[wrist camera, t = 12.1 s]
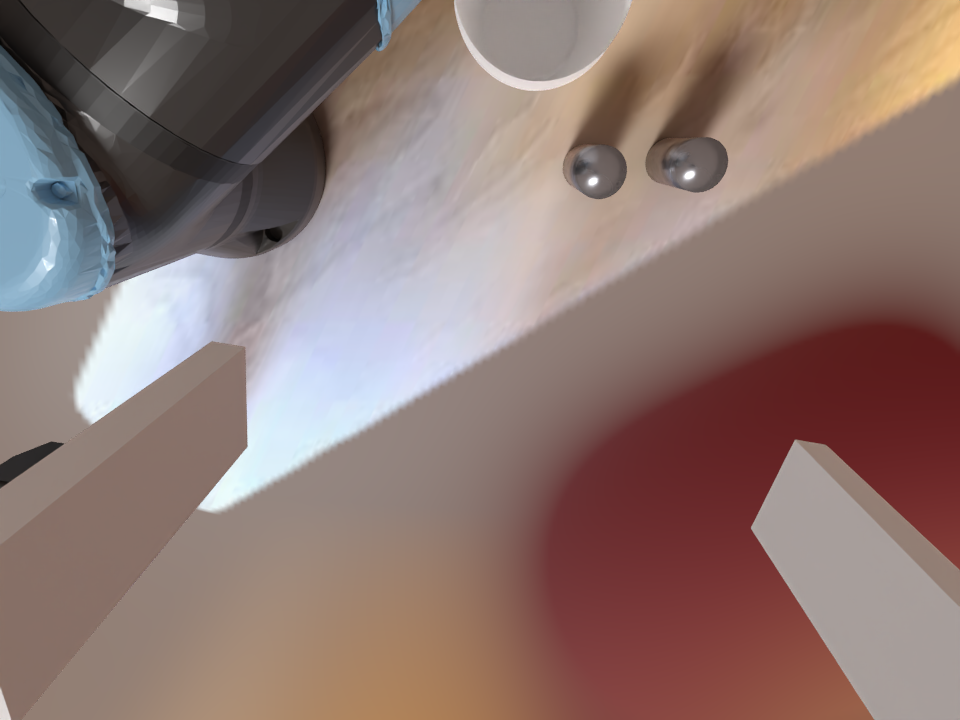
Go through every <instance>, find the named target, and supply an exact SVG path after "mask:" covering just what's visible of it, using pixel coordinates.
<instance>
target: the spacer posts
mask: <svg viewBox="0 0 960 720" xmlns="http://www.w3.org/2000/svg"><path fill="white" fill-rule="evenodd" d="M727 165H728V155H727V152H726V149H725V148H724V146H723V145H722V144H721V143H720V142H719V141H717V140H715V139H713V138H707V137H706V138H665V139H662V140H660V141H658V142H657V143H656V144H654V145H653V146H652V148H651V149H650V151H649V152H648V154H647V157H646V170H647V173H648V175H649V176H650V178H651V179H652V180H654V181H655V182H658V183H661V184H665V185H668V186H672V187H676V188H679V189H683V190H687V191H690V192H704V191H707V190H709V189H711V188H713V187H714V186H715V185H717V184H718V183H719V182H720V180H721V179H722V178H723V176H724V174H725V172H726V169H727ZM626 173H627V166H626V161H625V159H624V157H623V155H622V154H621V152H620V151H619V150H617V149H616V148H614V147H612V146H609V145H597V144H581V145H578V146H576V147H574V148H573V149H572V150H570V152H569V153H568V154H567V156H566V157H565V160H564V163H563V174H564V177H565V179H566V181H567V182H568V183H569V184H570V185H571V186H573V187H574V188H576V189H577V190H579V191H580V192H582V193H583V194H585V195H587V196H588V197H591V198H594V199H603V198H607V197H609V196H611V195H613V194H614V193H616V192H617V191H618V190H619V189H620V188H621V186H622V185H623V183H624V181H625V178H626Z"/></svg>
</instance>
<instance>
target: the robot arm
mask: <svg viewBox="0 0 960 720" xmlns="http://www.w3.org/2000/svg"><path fill="white" fill-rule="evenodd" d="M420 1H421V0H0V311H11V312H12V311H29V310H35V309H40V308H45V307H48V306H52V305H56V304H59V303H64V302H69V301H79V300H85V299H89V298H90V297H92V296H93V295H94V294H98V293H99V292H101V291H103V290H104V289H105V288H107V287H110V286H112V285H115V284H118V283H120V282H123V281H125V280H128V279H131V278H133V277H136V276H138V275H141V274H144V273H146V272H149V271H152V270H154V269H157V268H159V267H162V266H165V265H167V264H170V263H172V262H175V261H178V260H180V259H183V258H185V257H188V256H191V255H193V254H196V253H197V254H203V255H208V256H214V257H220V258H246V257H253V256H257V255H261V254H264V253H266V252H269V251H271V250H273V249H275V248H277V247H280V246H282V245H283V244H285V243H287V242H289V241H290V240H292V239H293V238H294V237H296V236H297V235H298V234H299V233H300V232H301V231H302V230H303V229H304V228H305V227H306V225H307V224H308V223H309V221H310V220H311V218H312V217H313V215H314V213H315V211H316V209H317V207H318V205H319V202H320V199H321V196H322V192H323V188H324V181H325V155H324V148H323V143H322V139H321V135H320V132H319V129H318V126H317V123H316V121H315V118H314V116H313V114H312V112H313V111H314V110H315V109H316V108H317V107H318V106H319V105H320V104H321V103H322V102H323V101H324V100H325V99H326V98H327V97H328V96H329V95H330V94H331V93H332V92H333V91H334V90H335V89H336V88H337V87H338V86H339V85H340V84H341V83H342V82H343V81H344V80H345V79H346V78H347V77H348V76H349V75H350V74H351V73H352V72H353V71H354V70H355V69H356V68H357V67H358V66H359V65H360V64H361V63H362V62H363V61H364V60H365V59H366V58H367V57H368V56H369V55H370V54H371V53H372V52H373V51H374V50H375V49H376V50H377V51H381V50H383V49H384V48H385V47H386V46H387V45H388V43H389V41H390V38H391V34H392V32H393V31H394V30H395V29H396V28H397V26H398V25H399V24H400V23H401V22H402V21H403V20H404V19H405V18H406V17H407V15H408V14H409V13H410V12H411V11H412V10H413V9H414V8H415V7H416V6H417V5H418V3H419V2H420ZM246 448H247V404H246V359H245V347H242V346H236V345H230V344H225V343H219V342H213V341H212V342H210V343H209V344H207V345H206V346H205V347H203V348H202V349H200V350H199V351H197V352H196V353H194V354H193V355H192V356H190V357H189V358H187V359H186V360H184V361H183V362H182V363H180V364H179V365H177V366H176V367H174V368H173V369H171V370H170V371H169V372H167V373H166V374H164V375H163V376H161V377H160V378H159V379H157V380H156V381H154V382H153V383H151V384H150V385H148V386H147V387H146V388H144V389H143V390H141V391H140V392H138V393H137V394H136V395H134V396H133V397H131V398H130V399H128V400H127V401H125V402H124V403H123V404H121V405H120V406H118V407H117V408H115V409H114V410H113V411H111V412H110V413H108V414H107V415H105V416H104V417H102V418H101V419H100V420H98V421H97V422H95V423H94V424H92V425H91V426H90V427H88V428H87V429H85V430H84V431H82V432H81V433H79V434H78V435H77V436H75V437H74V438H72V439H71V440H69V441H68V442H67V443H65V444H63V443H57V442H49V443H47V444H44V445H41V446H39V447H37V448H34V449H31V450H29V451H26V452H24V453H21V454H19V455H16V456H14V457H12V458H10V459H9V460H7V461H6V462H4V463H3V464H1V465H0V720H22V718H23V717H24V716H25V715H26V713H27V712H28V711H29V710H30V709H31V708H32V706H33V705H34V704H35V703H36V702H37V700H38V699H39V698H40V697H41V695H42V694H43V693H44V692H45V691H46V689H47V688H48V687H49V686H50V685H51V683H52V682H53V681H54V680H55V679H56V677H57V676H58V675H59V674H60V673H61V671H62V670H63V669H64V668H65V666H66V665H67V664H68V663H69V662H70V660H71V659H72V658H73V657H74V656H75V654H76V653H77V652H78V651H79V650H80V648H81V647H82V646H83V645H84V643H85V642H86V641H87V640H88V639H89V637H90V636H91V635H92V634H93V633H94V631H95V630H96V629H97V627H99V625H100V624H101V623H102V622H103V621H104V619H105V618H106V617H107V616H108V615H109V613H110V612H111V611H112V610H113V608H114V607H115V606H116V605H117V604H118V602H119V601H120V600H121V599H122V597H123V596H124V595H125V594H126V593H127V592H128V590H129V589H130V588H131V587H132V585H133V584H134V583H135V582H136V581H137V579H138V578H139V577H140V576H141V575H142V573H143V572H144V571H145V570H146V569H147V567H148V566H149V565H150V564H151V562H152V561H153V560H154V559H155V558H156V556H157V555H158V554H159V553H160V552H161V550H162V549H163V548H164V547H165V546H166V544H167V543H168V542H169V541H170V539H171V538H172V537H173V536H174V535H175V533H176V532H177V531H178V530H179V529H180V527H181V526H182V525H183V524H184V523H185V521H186V520H187V519H188V518H189V517H190V515H191V514H192V513H193V512H194V511H195V509H196V508H197V507H198V506H199V505H200V503H201V502H202V501H203V500H204V498H205V497H206V496H207V495H208V494H209V492H210V491H211V490H212V489H213V488H214V486H215V485H216V484H217V483H218V482H219V480H220V479H221V478H222V477H223V476H224V474H225V473H226V472H227V471H228V469H229V468H230V467H231V466H232V465H233V463H234V462H235V461H236V460H237V459H238V457H239V456H240V455H241V454H242V453H243V451H244V450H245V449H246ZM751 529H752V531H753V532H754V534H755V535H756V537H757V538H758V540H759V541H760V543H761V545H762V546H763V548H764V549H765V551H766V553H767V554H768V556H769V557H770V559H771V560H772V562H773V563H774V565H775V566H776V568H777V569H778V571H779V572H780V574H781V576H782V577H783V578H784V580H785V582H786V583H787V585H788V587H789V588H790V590H791V591H792V593H793V594H794V596H795V597H796V599H797V601H798V602H799V604H800V605H801V607H802V608H803V610H804V611H805V613H806V614H807V616H808V618H809V619H810V621H811V622H812V624H813V625H814V627H815V629H816V630H817V631H818V633H819V635H820V636H821V638H822V639H823V641H824V642H825V644H826V646H827V647H828V649H829V650H830V652H831V653H832V655H833V656H834V658H835V660H836V661H837V663H838V664H839V666H840V667H841V669H842V670H843V672H844V673H845V675H846V677H847V678H848V680H849V681H850V683H851V684H852V686H853V687H854V689H855V690H856V692H857V694H858V695H859V697H860V698H861V700H862V701H863V703H864V704H865V706H866V708H867V709H868V711H869V712H870V714H871V715H872V717H873V718H874V720H960V570H959V569H958V568H957V567H956V566H955V565H953V564H952V563H951V562H950V561H949V560H948V559H947V558H946V557H945V556H944V555H943V554H942V553H941V552H940V551H939V550H938V549H936V548H935V547H934V546H933V545H932V544H931V543H930V542H929V541H928V540H927V539H926V538H925V537H924V536H923V535H922V534H920V533H919V532H918V531H917V530H916V529H915V528H914V527H913V526H912V525H911V524H910V523H909V522H908V521H907V520H906V519H904V518H903V517H902V516H901V515H900V514H899V513H898V512H897V511H896V510H895V509H893V507H892V506H891V505H889V504H888V503H887V502H886V501H885V500H884V499H883V498H882V497H881V496H880V495H879V494H877V492H875V491H874V490H873V489H872V488H871V487H870V486H869V485H868V484H867V483H866V482H865V481H864V480H863V479H862V478H861V477H860V476H859V475H857V474H856V473H855V472H854V471H853V470H852V469H851V468H849V466H848V465H847V464H846V463H845V462H844V461H842V460H841V459H840V458H839V457H838V456H837V455H836V454H835V453H834V452H833V451H832V450H831V449H830V448H828V446H827V445H823V444H817V443H811V442H805V441H800V440H795V441H794V443H793V445H792V447H791V449H790V451H789V453H788V455H787V457H786V459H785V461H784V463H783V465H782V467H781V469H780V471H779V473H778V475H777V477H776V479H775V481H774V483H773V485H772V487H771V489H770V491H769V493H768V495H767V497H766V499H765V501H764V503H763V505H762V507H761V509H760V511H759V513H758V515H757V517H756V519H755V521H754V523H753V525H752V527H751Z"/></svg>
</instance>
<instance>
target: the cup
mask: <svg viewBox="0 0 960 720" xmlns="http://www.w3.org/2000/svg"><path fill="white" fill-rule="evenodd" d="M631 2H632V0H454V5H455V12H456V18H457V22H458V26H459V29H460V32H461V34H462V37H463V39H464V41H465V44H466V45H467V47H468V49H469V51H470V52H471V54H472V55H473V57H474V58H475V60H476V61H477V62H478V63H479V64H480V66H481V67H483V68H484V69H485V70H486V71H487V72H488V73H489V74H490V75H492V76H493V77H494V78H496V79H497V80H499V81H500V82H502V83H504V84H506V85H509V86H512V87H514V88H518V89H522V90H529V91H540V90H548V89H553V88H557V87H560V86H563V85H565V84H567V83H570V82H572V81H573V80H575V79H577V78H578V77H580V76H581V75H583V74H584V73H585V72H587V71H588V70H589V69H590V68H591V67H592V66H593V65H594V64H595V63H596V62H597V61H598V60H599V59H600V57H601V56H602V55H603V54H604V52H605V51H606V49H607V48H608V47H609V45H610V43H611V42H612V41H613V39H614V38H615V36H616V35H617V33H618V32H619V30H620V28H621V26H622V25H623V22H624V20H625V18H626V16H627V14H628V11H629V8H630V6H631Z"/></svg>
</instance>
